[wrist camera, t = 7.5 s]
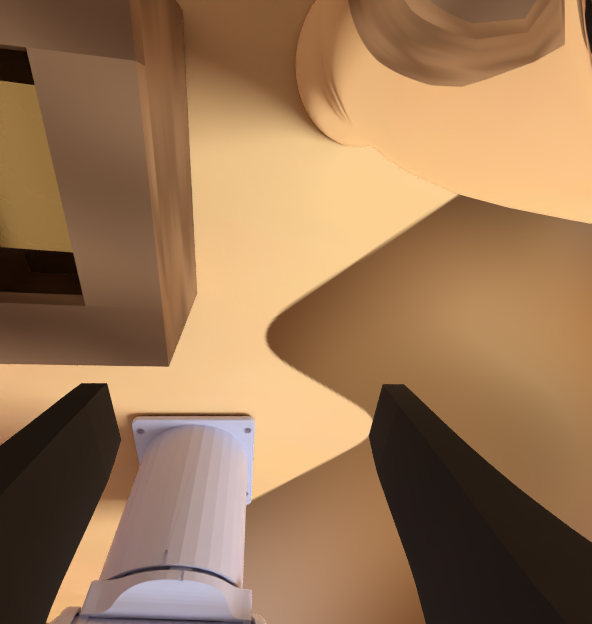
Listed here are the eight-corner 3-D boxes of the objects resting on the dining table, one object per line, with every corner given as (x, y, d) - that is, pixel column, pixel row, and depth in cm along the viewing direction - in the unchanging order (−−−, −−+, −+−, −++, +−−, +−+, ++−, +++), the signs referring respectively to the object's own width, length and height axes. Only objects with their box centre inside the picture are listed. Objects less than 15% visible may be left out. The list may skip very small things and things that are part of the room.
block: (124, 219, 16) (75, 252, 12) (71, 214, 16) (1, 247, 12) (109, 99, 14) (41, 86, 10) (46, 91, 14) (-53, 73, 9)
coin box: (196, 293, 18) (168, 366, 13) (18, 285, 17) (-100, 361, 12) (182, 10, 13) (120, -83, 7) (-84, -28, 12) (-406, -175, 6)
